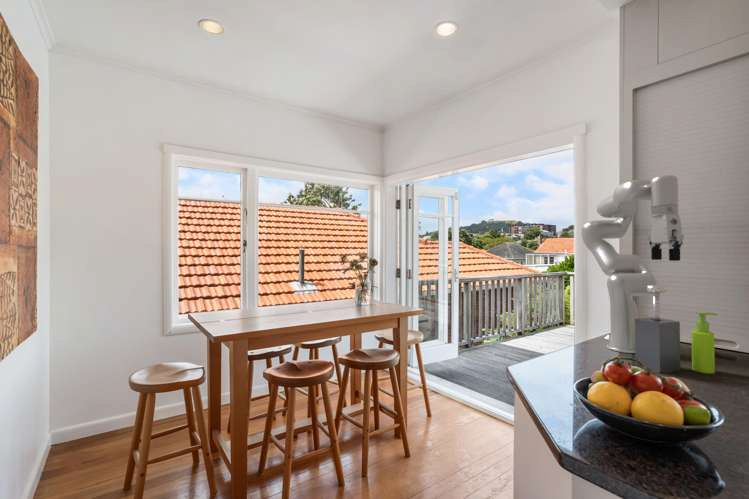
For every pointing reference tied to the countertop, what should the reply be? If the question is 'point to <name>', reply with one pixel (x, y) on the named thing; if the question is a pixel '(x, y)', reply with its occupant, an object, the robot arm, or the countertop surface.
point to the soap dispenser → (703, 346)
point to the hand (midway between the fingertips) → (665, 260)
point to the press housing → (658, 344)
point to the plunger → (656, 299)
